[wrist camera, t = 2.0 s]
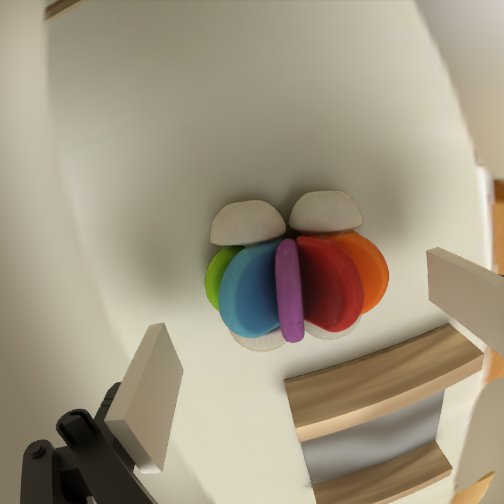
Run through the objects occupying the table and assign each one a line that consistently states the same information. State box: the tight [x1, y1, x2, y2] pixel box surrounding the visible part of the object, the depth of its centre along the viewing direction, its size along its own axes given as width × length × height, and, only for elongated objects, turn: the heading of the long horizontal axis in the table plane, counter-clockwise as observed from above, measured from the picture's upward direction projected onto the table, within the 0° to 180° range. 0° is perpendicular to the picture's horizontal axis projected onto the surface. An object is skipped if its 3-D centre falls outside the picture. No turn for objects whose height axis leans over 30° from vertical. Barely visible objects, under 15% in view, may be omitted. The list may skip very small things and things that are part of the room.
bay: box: [284, 324, 484, 504], centre depth 22 cm, size 17×14×5 cm
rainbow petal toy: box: [205, 191, 389, 352], centre depth 16 cm, size 8×10×7 cm
